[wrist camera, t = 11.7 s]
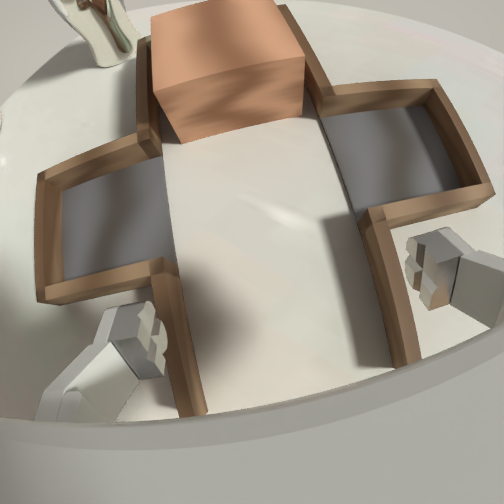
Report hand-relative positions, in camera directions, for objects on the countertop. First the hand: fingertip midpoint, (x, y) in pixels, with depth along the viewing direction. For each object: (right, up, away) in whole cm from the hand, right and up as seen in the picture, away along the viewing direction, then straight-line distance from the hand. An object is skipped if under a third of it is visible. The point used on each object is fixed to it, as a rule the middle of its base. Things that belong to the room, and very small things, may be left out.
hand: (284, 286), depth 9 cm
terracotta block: (-3, +16, +16) cm, 23 cm away
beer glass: (-16, +24, +19) cm, 35 cm away
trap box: (-1, +7, +14) cm, 15 cm away
